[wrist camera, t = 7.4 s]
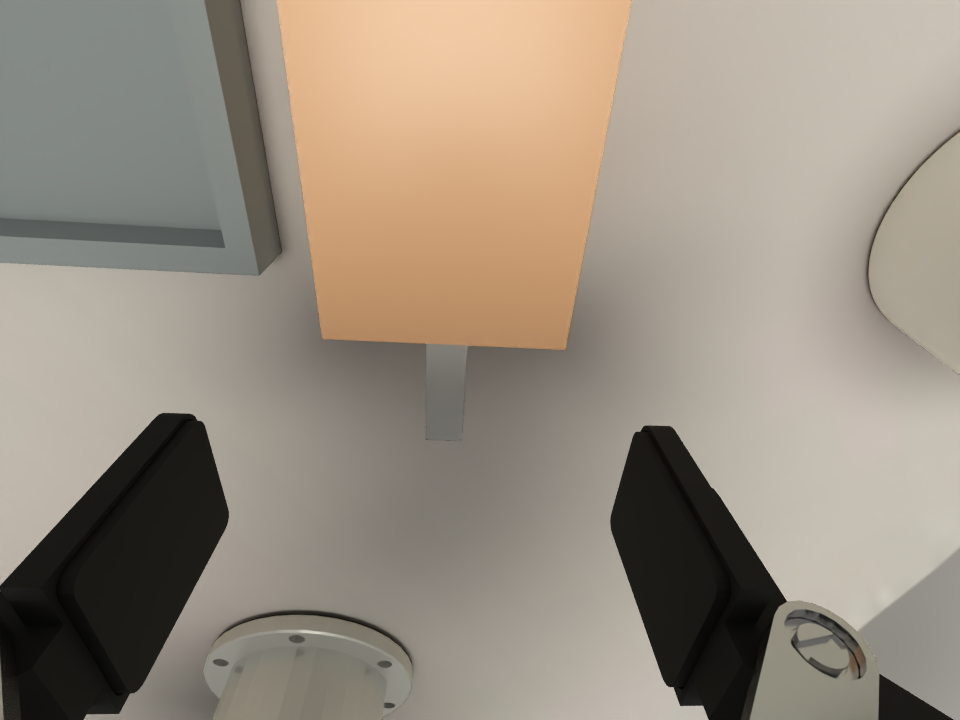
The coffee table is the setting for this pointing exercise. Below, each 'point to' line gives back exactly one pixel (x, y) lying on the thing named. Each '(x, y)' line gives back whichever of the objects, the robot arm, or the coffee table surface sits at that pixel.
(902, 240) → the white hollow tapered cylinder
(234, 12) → the tray
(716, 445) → the coffee table surface
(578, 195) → the peach slab with tab
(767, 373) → the coffee table surface
